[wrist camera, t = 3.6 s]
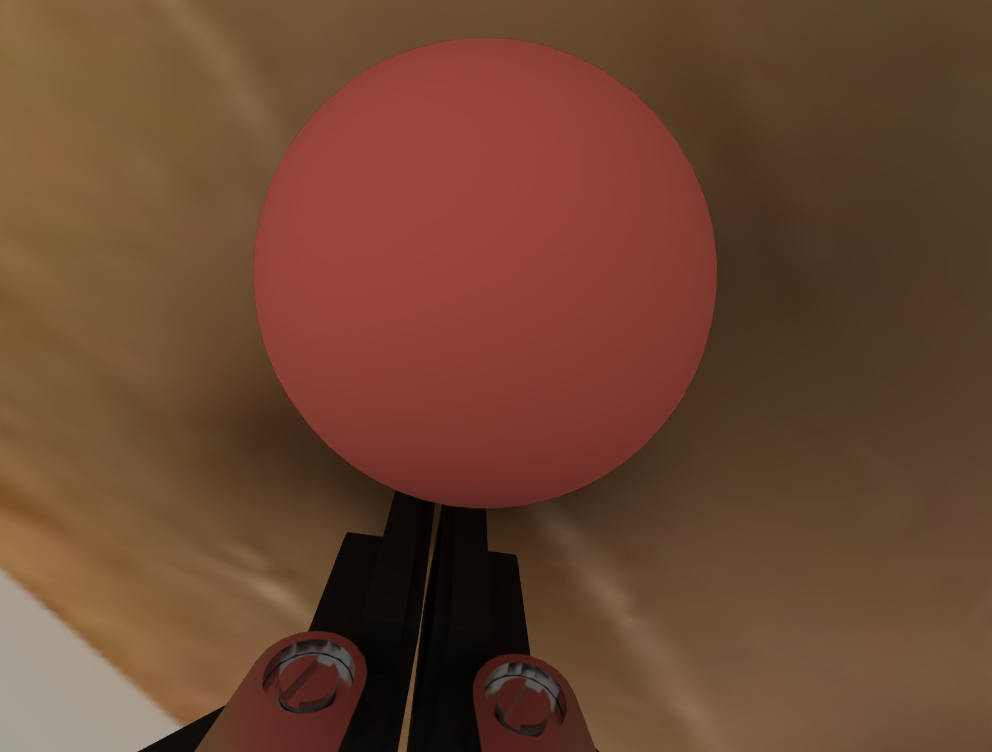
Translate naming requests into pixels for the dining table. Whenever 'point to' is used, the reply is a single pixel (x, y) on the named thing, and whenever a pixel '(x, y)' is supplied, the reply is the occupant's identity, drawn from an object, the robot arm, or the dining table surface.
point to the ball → (485, 273)
